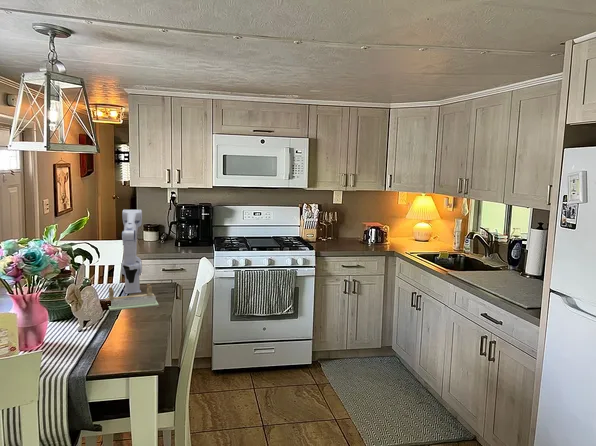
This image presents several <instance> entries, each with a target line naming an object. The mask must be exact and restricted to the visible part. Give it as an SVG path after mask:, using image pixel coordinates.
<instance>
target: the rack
mask: <svg viewBox="0 0 596 446" xmlns="http://www.w3.org/2000/svg"><path fill="white" fill-rule="evenodd" d="M114 294H115V293H114V289H113V287H108V297H105V300H110V301H111V300H113V299H123V298H133V297H143V296H153V295H155V294H154V293H153V286H151V283H147V284H146V293H144V294H143V293H141V294H133V295H123V296H114ZM105 300H104V301H105Z"/></svg>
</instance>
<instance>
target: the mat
mask: <svg viewBox="0 0 596 446" xmlns="http://www.w3.org/2000/svg"><path fill="white" fill-rule="evenodd" d="M157 306H159V303H158V301H157V300H156V303H151V304H141V305H132V306H123V307H113V308H112V307H111V306H108V309H109V311H110V312H111V311H119V310H127V309H129V310H130V309H138V308H149V307H157Z"/></svg>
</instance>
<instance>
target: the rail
mask: <svg viewBox="0 0 596 446" xmlns="http://www.w3.org/2000/svg"><path fill="white" fill-rule="evenodd" d="M156 298H157V297H156V295H155V294H154V295H153V296H143V297H133V298H123V299H113V300H111V307H112V308H113V307H123V306H132V305H141V304H151V303H156V301H157V299H156Z"/></svg>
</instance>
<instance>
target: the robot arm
mask: <svg viewBox="0 0 596 446" xmlns="http://www.w3.org/2000/svg"><path fill="white" fill-rule="evenodd" d="M121 214H122V216H121V217H122V223H123V230H122V232H121V240H122V246H123V248H122V249H123V251H122V252H123V259H122V262H120V265H121V274H122V275H124V288H123V292H124V294H136V293H137V294H138V293H139V294H140V293H142V290H141V288H140V287H141V286H140V276H141V275H142V273H143V263H142V261H143V260H142V259H141V258H140V257H139V256H137V254H138V253H137V251H138V249H137V242H138V239H137V238H138V237H137V235H138V230H139V227H142V224H143V210H142V209H125V208H123V210H122V213H121Z"/></svg>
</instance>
